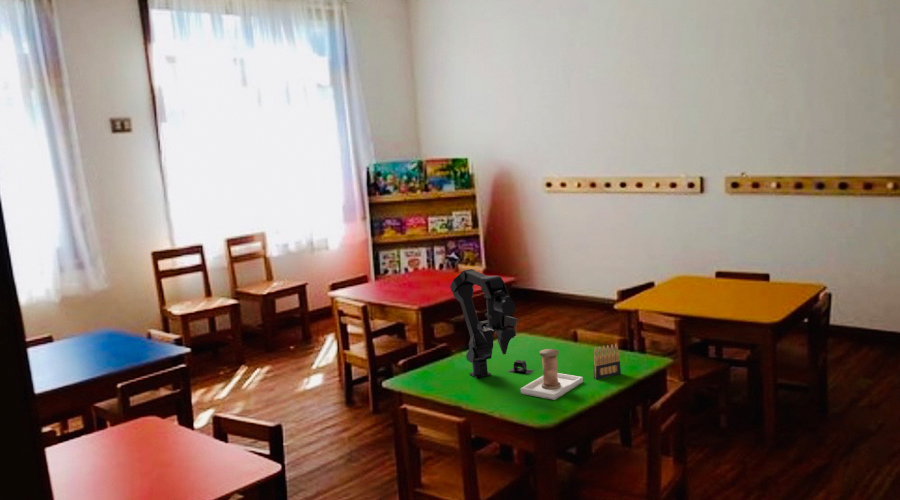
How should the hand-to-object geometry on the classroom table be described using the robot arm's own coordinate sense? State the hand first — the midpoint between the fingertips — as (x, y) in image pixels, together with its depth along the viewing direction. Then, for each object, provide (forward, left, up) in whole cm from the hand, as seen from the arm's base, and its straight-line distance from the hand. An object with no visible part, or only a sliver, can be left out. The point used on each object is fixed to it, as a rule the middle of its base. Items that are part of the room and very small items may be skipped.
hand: (497, 351), depth 266 cm
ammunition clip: (+18, +36, -13) cm, 42 cm away
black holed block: (-8, +14, -14) cm, 22 cm away
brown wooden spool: (+15, +13, -12) cm, 23 cm away
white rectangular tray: (+15, +13, -13) cm, 24 cm away
